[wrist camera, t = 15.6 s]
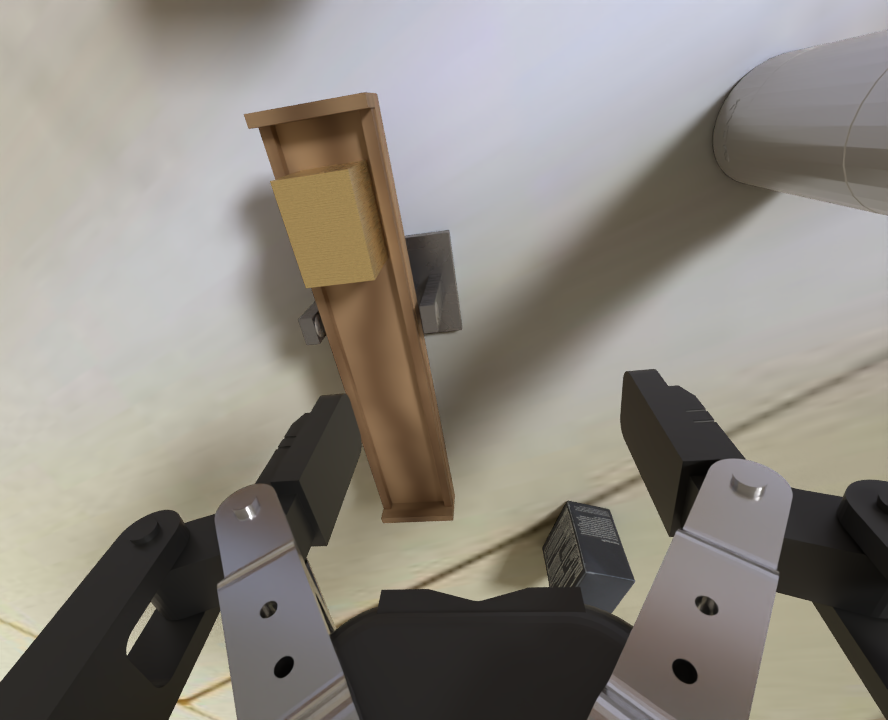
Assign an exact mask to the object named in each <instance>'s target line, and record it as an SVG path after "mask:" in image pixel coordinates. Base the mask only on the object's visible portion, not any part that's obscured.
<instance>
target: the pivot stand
mask: <svg viewBox="0 0 888 720" xmlns="http://www.w3.org/2000/svg"><path fill="white" fill-rule="evenodd" d="M405 241H406V246H407V251H408V257H409V262H410V267H411V272H412V277H413V282H414V288H415V293H416V298H417V303H418V308H419V313H420V319H421V324H422V329H423V334H424V333H434V332H444V331H454V330H462V321H461V314H460V306H459V299H458V291H457V284H456V277H455V269H454V262H453V254H452V247H451V240H450V232H449V230H445V231H438V232H430V233H422V234H415V235H407V236H405ZM298 321H299V324H300V327H301V330H302V333H303V336H304V338H305V341H306V344H307V345H312V344H320V343H321V341H322V340H323V339H324V337H325V336H326V331H325V328H324V325H323V322H322V319H321V316H320V313H319V310H318V307H317V304H316V301H315V302H314V303H313V304H312V305H311V306H310V307H309V309H308V310H307V311H306V312H305V313H304V314H303V315H302V316H301V317H300V318H299V319H298Z"/></svg>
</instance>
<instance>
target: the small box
mask: <svg viewBox="0 0 888 720" xmlns="http://www.w3.org/2000/svg"><path fill="white" fill-rule="evenodd" d="M542 549H543V554H544V559H545V564H546V570H547V575H548V581H549V587H581V592H582V597H583V601H584V604H586V605H590V606H594V607H596V608H599V609H602V610H605V611H607V612H609V613H612V612H613V611H614V609H615V608H616V607H617V605H618V604H619V603H620V601H621V600H622V599H623V597H624V596H625V595H626V593H627V592H628V591H629V589H630V588H631V587H632V585H633V584H634V583H635V580H634V577H633V574H632V571H631V568H630V566H629V563H628V560H627V557H626V555H625V552H624V549H623V546H622V543H621V541H620V538H619V535H618V532H617V529H616V526H615V524H614V521H613V518H612V515H611V512H610V510H609V509H605V508H600V507H596V506H591V505H586V504H581V503H577V502H572V501H567V502H566V504H565V506H564V508H563V510H562V512H561V514H560V516H559V517H558V519H557V521H556V523H555V525H554V527H553V529H552V531H551V533H550V534H549V536H548V538H547V540H546V542H545V544H544V546H543V548H542Z"/></svg>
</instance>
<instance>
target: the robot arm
mask: <svg viewBox="0 0 888 720" xmlns="http://www.w3.org/2000/svg"><path fill="white" fill-rule="evenodd" d="M713 148H714V154H715V158H716V160H717V162H718V164H719V167H720V168H721V169H722V170H723V171H724V173H725V174H726V175H728V176H729V177H731V178H732V179H734V180H735V181H738V182H741V183H744V184H749V185H753V186H757V187H762V188H766V189H770V190H774V191H779V192H783V193H788V194H792V195H797V196H801V197H806V198H810V199H815V200H819V201H824V202H828V203H833V204H837V205H842V206H846V207H851V208H855V209H860V210H864V211H869V212H873V213H878V214H883V215H888V30H884V31H879V32H875V33H871V34H866V35H862V36H858V37H853V38H849V39H845V40H840V41H836V42H832V43H826V44H822V45H817V46H813V47H809V48H804V49H800V50H796V51H792V52H787V53H783V54H781V55H778V56H775V57H773V58H770V59H768V60H767V61H765V62H763V63H762V64H760V65H758V66H757V67H755V68H754V69H753V70H752V71H750V72H749V73H748V74H747V75H746V76H744V77H743V78H742V79H741V80H740V82H739V83H738V84H737V85H736V86H735V87H734V88H733V90H732V91H731V92H730V94H729V96H728V97H727V99H726V100H725V102H724V103H723V105H722V108H721V110H720V112H719V115H718V117H717V120H716V124H715V128H714V134H713ZM620 423H621V430H622V434H623V437H624V440H625V442H626V444H627V446H628V448H629V451H630V453H631V455H632V457H633V459H634V461H635V464H636V466H637V468H638V470H639V472H640V474H641V477H642V479H643V481H644V483H645V485H646V487H647V490H648V492H649V494H650V496H651V498H652V500H653V503H654V505H655V507H656V509H657V511H658V513H659V516H660V518H661V520H662V522H663V524H664V526H665V529H666V531H667V533H668V535H669V537H673V540H672V542H671V544H670V546H669V549H668V551H667V553H666V555H665V557H664V560H663V562H662V564H661V566H660V569H659V571H658V573H657V575H656V577H655V580H654V582H653V584H652V586H651V589H650V591H649V593H648V595H647V597H646V600H645V602H644V604H643V606H642V609H641V611H640V613H639V615H638V617H637V620H636V622H635V624H634V626H632V625H630V624H629V623H627V622H625V621H624V620H622V619H621V618H619V617H617V616H615V615H613V614H611V613H609V612H607V611H605V610H602V609H599V608H596V607H594V606H590V605H586V604H584V601H583V597H582V592H581V587H536V588H526V589H522V590H519V591H515V592H512V593H508V594H504V595H501V596H497V597H494V598H490V599H487V600H483V601H472V600H468V599H464V598H461V597H457V596H453V595H449V594H445V593H441V592H437V591H433V590H429V589H406V590H382V591H381V595H380V600H379V605H378V607H375V608H372V609H370V610H367V611H365V612H363V613H361V614H359V615H357V616H355V617H353V618H352V619H350V620H348V621H347V622H346V623H344V624H343V625H341V626H340V627H339V628H338V629H336V627H335V625H334V622H333V620H332V618H331V615H330V613H329V610H328V608H327V605H326V603H325V601H324V598H323V596H322V593H321V591H320V588H319V586H318V583H317V581H316V578H315V576H314V573H313V571H312V568H311V566H310V563H309V561H308V559H307V555H308V552H309V550H310V547H311V546H327V545H328V542H329V539H330V537H331V534H332V531H333V528H334V525H335V523H336V520H337V517H338V514H339V512H340V509H341V506H342V503H343V500H344V498H345V495H346V492H347V489H348V487H349V484H350V481H351V478H352V475H353V473H354V470H355V467H356V464H357V462H358V459H359V456H360V453H361V434H360V431H359V427H358V424H357V421H356V418H355V414H354V411H353V408H352V405H351V401H350V399H349V397H348V395H347V394H335V395H322V396H320V397H319V399H318V401H317V402H316V404H315V406H314V407H313V409H312V411H311V413H305V414H304V415H302V416H301V417H300V418H299V419H298V420H297V421H295V422H294V423H293V424H292V425H291V427H290V428H289V430H288V432H287V433H286V435H285V436H284V437H285V439H283V440H282V441H281V443H280V445H279V446H278V449H276V451H275V453H274V454H273V456H272V457H271V459H270V461H269V462H268V464H267V465H266V467H265V469H264V470H263V472H262V473H261V475H260V477H259V478H258V480H257V481H256V483H255V484H253V485H249V486H246V487H244V488H241V489H240V490H238V491H236V492H234V493H233V494H231V495H230V496H229V497H228V498H226V499H225V500H224V501H223V502H222V504H221V505H220V506H219V508H218V509H217V511H216V514H213V515H210V516H206V517H203V518H200V519H196V520H193V521H190V522H187V523H184V522H183V520H182V519H181V517H180V516H179V514H178V513H177V512H175V511H173V510H162V511H158V512H154V513H152V514H149V515H147V516H145V517H143V518H141V519H139V520H138V521H136V522H135V523H133V524H132V525H130V526H129V527H128V528H127V529H126V530H125V531H124V532H122V534H121V535H120V536H119V537H118V538H117V539H116V541H115V542H114V543H113V544H112V545H111V547H110V548H109V549H108V550H107V552H106V553H105V554H104V555H103V557H102V558H101V559H100V560H99V561H98V563H97V564H96V565H95V566H94V568H93V569H92V570H91V571H90V573H89V574H88V575H87V576H86V577H85V579H84V580H83V581H82V582H81V584H80V585H79V586H78V587H77V589H76V590H75V591H74V592H73V593H72V595H71V596H70V597H69V598H68V600H67V601H66V602H65V603H64V605H63V606H62V607H61V608H60V609H59V611H58V612H57V613H56V614H55V616H54V617H53V618H52V619H51V621H50V622H49V623H48V624H47V625H46V627H45V628H44V629H43V630H42V632H41V633H40V634H39V635H38V637H37V638H36V639H35V640H34V641H33V643H32V644H31V645H30V646H29V648H28V649H27V650H26V651H25V653H24V654H23V655H22V656H21V657H20V659H19V660H18V661H17V662H16V664H15V665H14V666H13V667H12V669H11V670H10V671H9V672H8V673H7V675H6V676H5V677H4V678H3V680H2V681H1V682H0V720H169V717H170V715H171V713H172V711H173V709H174V707H175V705H176V703H177V701H178V699H179V696H180V694H181V692H182V690H183V688H184V686H185V684H186V682H187V680H188V678H189V676H190V673H191V671H192V669H193V667H194V665H195V663H196V661H197V659H198V657H199V655H200V652H201V650H202V648H203V646H204V644H205V642H206V640H207V638H208V636H209V634H210V631H211V629H212V627H213V625H214V623H215V621H216V619H217V617H218V615H219V613H220V611H221V617H222V624H223V630H224V637H225V643H226V650H227V656H228V663H229V669H230V676H231V682H232V689H233V695H234V702H235V708H236V715H237V720H749V716H750V711H751V706H752V702H753V697H754V692H755V688H756V683H757V678H758V674H759V669H760V664H761V659H762V655H763V650H764V645H765V641H766V636H767V631H768V627H769V622H770V617H771V613H772V608H773V603H774V598H775V594H776V592H778V593H782V594H785V595H789V596H793V597H797V598H801V599H805V600H809V601H812V602H813V604H814V606H815V607H816V609H817V610H818V612H819V613H820V615H821V617H822V618H823V620H824V621H825V623H826V625H827V626H828V628H829V629H830V631H831V633H832V634H833V636H834V637H835V639H836V640H837V642H838V644H839V645H840V647H841V648H842V650H843V652H844V653H845V655H846V656H847V658H848V660H849V661H850V663H851V664H852V666H853V667H854V669H855V671H856V672H857V674H858V675H859V677H860V679H861V680H862V682H863V683H864V685H865V687H866V688H867V690H868V691H869V693H870V694H871V696H872V698H873V699H874V701H875V702H876V704H877V706H878V707H879V709H880V710H881V712H882V714H883V715H884V717H885V718H886V720H888V482H886V481H880V480H861V481H856V482H854V483H852V484H850V485H849V486H848V487H847V489H846V491H845V493H844V496H843V497H840V496H834V495H828V494H822V493H817V492H811V491H805V490H800V489H795V488H792V487H790V485H789V484H788V482H787V481H786V480H785V479H784V478H783V477H782V476H781V475H779V474H778V473H777V472H775V471H774V470H772V469H770V468H768V467H766V466H764V465H762V464H759V463H756V462H753V461H749V460H746V459H745V458H744V456H743V455H742V454H741V453H740V451H739V450H738V449H737V448H736V446H735V445H734V444H733V443H732V441H731V440H730V439H729V438H728V436H727V435H726V434H725V433H724V431H723V430H722V429H721V428H720V426H719V425H718V424H717V423H716V422H714V419H713V418H712V416H711V415H710V414H709V413H708V411H706V410H705V407H704V406H703V405H702V404H701V402H700V401H699V400H698V399H697V397H696V396H695V395H693V394H691V393H690V392H688V391H686V390H685V389H683V388H682V387H680V386H668V385H667V384H666V382H665V381H664V380H663V378H662V377H661V376H660V374H659V373H658V371H657V370H655V369H649V370H637V371H626V372H625V373H624V377H623V387H622V401H621V414H620ZM150 602H151V603H152V604H153V605H154V606H155V607H156V610H155V611H154V613H153V615H152V616H151V618H150V620H149V621H148V623H147V624H146V626H145V628H144V629H143V631H142V633H141V634H140V636H139V637H138V639H137V641H136V642H135V644H134V646H133V647H132V649H131V651H130V652H129V654H128V655H127V654H126V647H127V641H128V638H129V636H130V634H131V632H132V630H133V629H134V627H135V625H136V624H137V622H138V621H139V619H140V617H141V616H142V614H143V613H144V611H145V610H146V608H147V606H148V605H149V603H150Z"/></svg>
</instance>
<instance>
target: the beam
mask: <svg viewBox="0 0 888 720" xmlns="http://www.w3.org/2000/svg"><path fill="white" fill-rule="evenodd" d="M244 117H245V120H246V123H247V126H248V128H249V129H251V128H259V131H260V134H261V137H262V140H263V143H264V146H265V149H266V152H267V155H268V158H269V161H270V164H271V167H272V170H273V173H274V176H275V179H278V178H281V177H284V176H286V175H289V174H292V173H294V172H297V171H300V170H306V169H313V168H319V167H325V166H331V165H338V164H344V163H350V162H356V161H363V160H367V163H368V167H369V172H370V176H371V181H372V185H373V190H374V195H375V199H376V204H377V208H378V213H379V217H380V222H381V226H382V231H383V236H384V240H385V245H386V249H387V254H388V259H387V260H386V262H385V264H384V265H383V267H382V269H381V271H380V272H379V274H378V276H377V277H376V279H375V280H372V281H363V282H355V283H346V284H338V285H330V286H321V287H313V288H311V289H312V292H313V295H314V298H315V301H316V304H317V307H318V310H319V313H320V316H321V319H322V322H323V325H324V328H325V331H326V334H327V337H328V340H329V343H330V346H331V349H332V353H333V356H334V359H335V362H336V365H337V368H338V371H339V374H340V377H341V380H342V383H343V386H344V389H345V392H346V394H347V395H348V397H349V399H350V401H351V405H352V408H353V411H354V414H355V418H356V421H357V424H358V427H359V431H360V434H361V441H362V444H363V447H364V450H365V453H366V456H367V459H368V462H369V465H370V468H371V471H372V474H373V477H374V480H375V483H376V486H377V489H378V492H379V495H380V498H381V501H382V504H383V507H384V509H383V513H382V518H381V519H382V522H383V523H398V522H424V521H451V520H453V516H454V499H455V494H454V489H453V484H452V478H451V473H450V468H449V463H448V458H447V453H446V447H445V442H444V437H443V432H442V427H441V422H440V417H439V411H438V406H437V401H436V396H435V391H434V386H433V380H432V375H431V370H430V365H429V360H428V355H427V349H426V344H425V339H424V334H423V329H422V324H421V319H420V313H419V308H418V303H417V298H416V293H415V288H414V282H413V277H412V272H411V267H410V262H409V257H408V251H407V246H406V241H405V236H404V231H403V226H402V221H401V215H400V210H399V205H398V200H397V195H396V190H395V184H394V179H393V174H392V169H391V164H390V159H389V153H388V148H387V143H386V138H385V133H384V128H383V123H382V117H381V112H380V107H379V102H378V97H377V94H375V93H366V92H364V93H359V94H353V95H348V96H342V97H337V98H331V99H326V100H320V101H315V102H309V103H304V104H298V105H293V106H287V107H282V108H276V109H271V110H265V111H260V112H254V113H249V114H244Z"/></svg>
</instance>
